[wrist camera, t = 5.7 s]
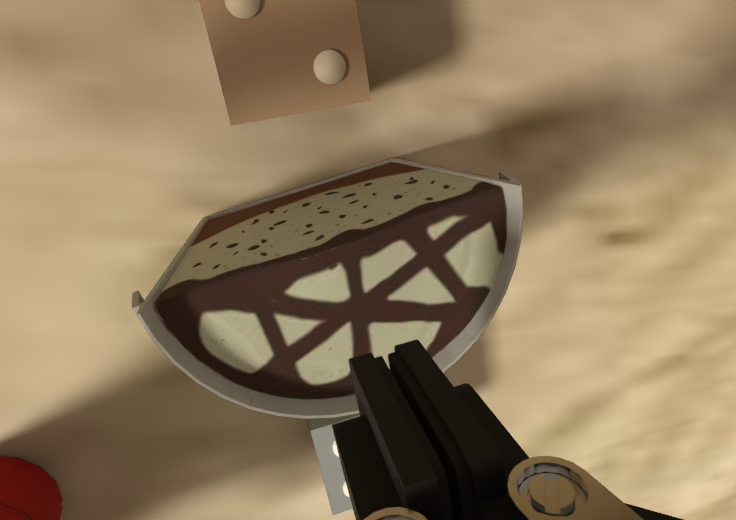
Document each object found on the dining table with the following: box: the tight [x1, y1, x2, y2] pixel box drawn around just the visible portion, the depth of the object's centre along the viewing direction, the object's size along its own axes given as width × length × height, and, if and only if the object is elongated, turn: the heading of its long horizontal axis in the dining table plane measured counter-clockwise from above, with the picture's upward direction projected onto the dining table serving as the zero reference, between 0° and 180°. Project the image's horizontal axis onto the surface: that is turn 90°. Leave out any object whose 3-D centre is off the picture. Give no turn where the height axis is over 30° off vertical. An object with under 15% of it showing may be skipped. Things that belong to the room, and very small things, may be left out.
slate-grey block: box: [308, 413, 360, 515], centre depth 25 cm, size 5×5×5 cm
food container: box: [132, 158, 523, 419], centre depth 19 cm, size 12×6×10 cm, turn 105°
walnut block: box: [200, 0, 371, 126], centre depth 18 cm, size 5×5×5 cm
